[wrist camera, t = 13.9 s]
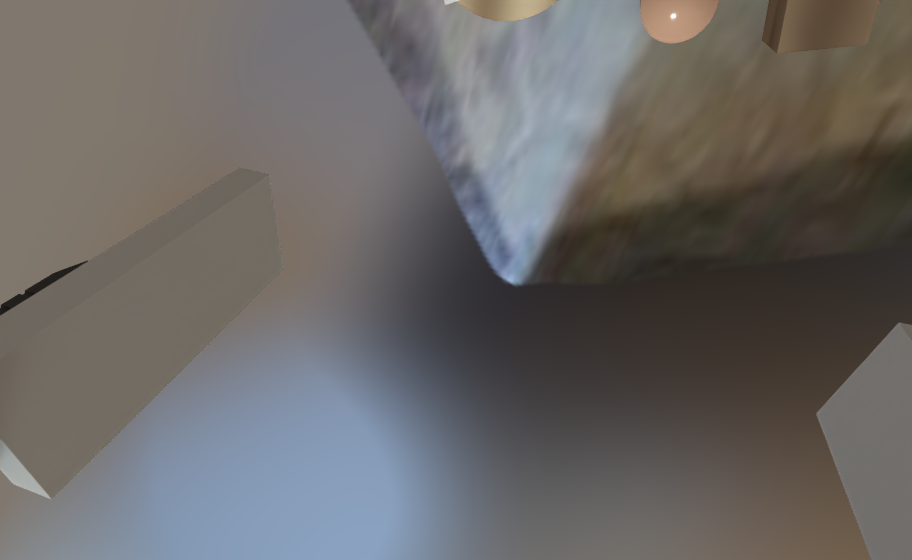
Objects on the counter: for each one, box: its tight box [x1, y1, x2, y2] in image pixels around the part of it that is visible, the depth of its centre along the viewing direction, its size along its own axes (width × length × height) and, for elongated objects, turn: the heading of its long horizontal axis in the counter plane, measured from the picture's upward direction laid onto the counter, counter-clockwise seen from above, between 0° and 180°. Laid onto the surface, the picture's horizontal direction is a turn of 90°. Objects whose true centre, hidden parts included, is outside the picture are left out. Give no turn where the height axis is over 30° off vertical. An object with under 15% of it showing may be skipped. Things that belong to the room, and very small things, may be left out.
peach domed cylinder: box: [640, 0, 719, 43], centre depth 31 cm, size 4×4×4 cm
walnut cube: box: [762, 0, 880, 53], centre depth 29 cm, size 4×4×4 cm
